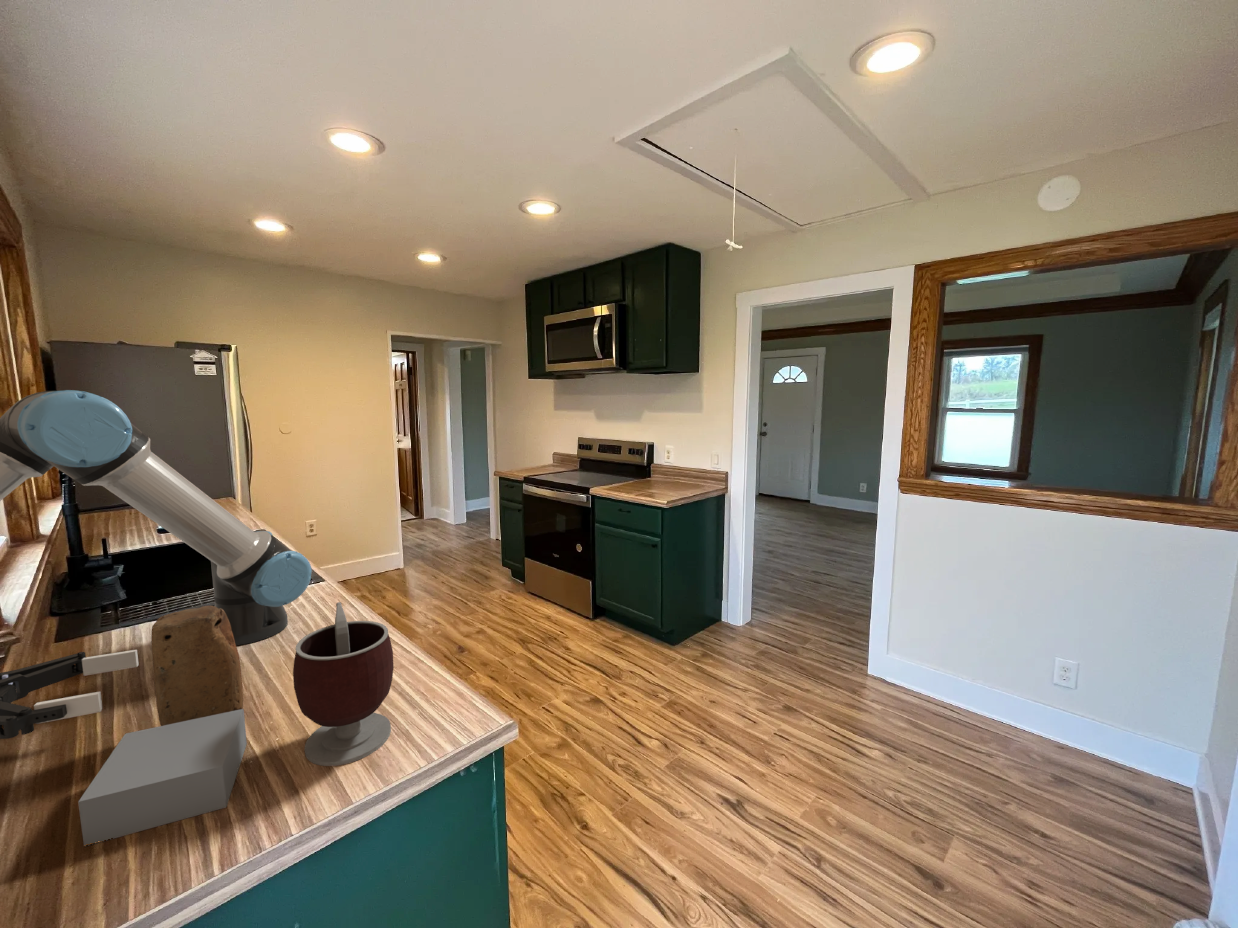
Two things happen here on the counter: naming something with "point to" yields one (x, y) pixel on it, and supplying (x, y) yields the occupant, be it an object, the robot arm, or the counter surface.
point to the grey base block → (164, 776)
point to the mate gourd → (344, 688)
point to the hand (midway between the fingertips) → (120, 678)
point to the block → (195, 665)
